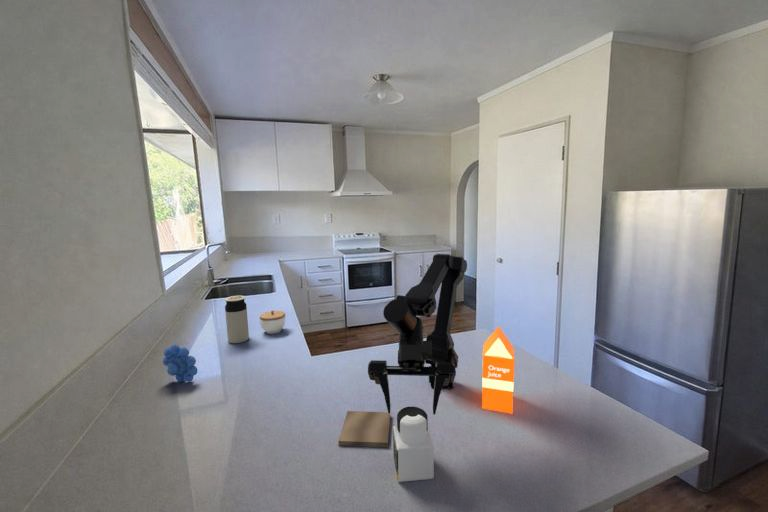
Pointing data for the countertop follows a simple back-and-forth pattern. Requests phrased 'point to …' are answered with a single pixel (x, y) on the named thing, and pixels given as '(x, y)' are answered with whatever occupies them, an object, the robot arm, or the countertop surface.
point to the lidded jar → (272, 321)
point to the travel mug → (236, 319)
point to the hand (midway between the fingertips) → (411, 413)
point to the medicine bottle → (413, 446)
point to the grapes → (180, 363)
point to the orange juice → (498, 373)
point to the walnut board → (365, 429)
